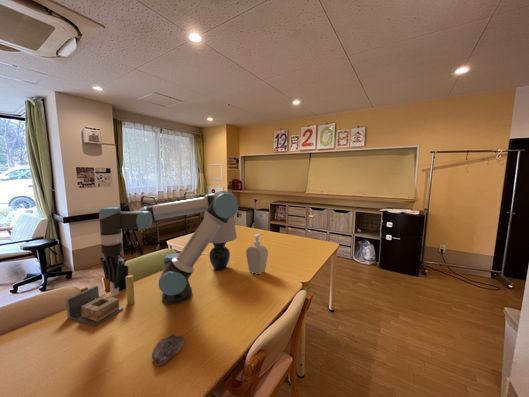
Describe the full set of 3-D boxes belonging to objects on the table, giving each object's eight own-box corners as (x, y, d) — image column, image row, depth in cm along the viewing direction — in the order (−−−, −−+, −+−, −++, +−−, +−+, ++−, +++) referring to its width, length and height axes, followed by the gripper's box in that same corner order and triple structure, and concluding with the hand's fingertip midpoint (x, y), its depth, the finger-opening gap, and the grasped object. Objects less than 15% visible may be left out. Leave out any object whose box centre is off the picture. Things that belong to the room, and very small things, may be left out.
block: (119, 308, 106) (118, 298, 105) (97, 321, 96) (96, 311, 96) (104, 304, 109) (103, 295, 108) (82, 316, 100) (81, 306, 99)
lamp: (194, 270, 151) (192, 212, 146) (219, 259, 171) (218, 208, 167) (220, 279, 138) (219, 216, 134) (243, 265, 158) (243, 211, 154)
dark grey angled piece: (123, 309, 107) (121, 291, 106) (94, 326, 95) (93, 307, 94) (97, 302, 113) (96, 285, 112) (67, 317, 101) (65, 299, 100)
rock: (145, 363, 77) (144, 351, 76) (169, 340, 87) (168, 329, 87) (164, 370, 74) (163, 357, 74) (186, 345, 85) (186, 334, 84)
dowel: (136, 301, 114) (134, 275, 112) (130, 305, 111) (128, 278, 109) (131, 300, 115) (129, 274, 113) (125, 303, 112) (124, 277, 110)
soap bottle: (269, 271, 150) (269, 234, 147) (260, 276, 142) (260, 237, 139) (255, 266, 157) (255, 231, 154) (246, 271, 149) (245, 234, 146)
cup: (121, 292, 123) (120, 271, 121) (110, 290, 124) (108, 270, 123) (132, 285, 130) (131, 266, 129) (121, 284, 132) (120, 265, 130)
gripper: (130, 242, 97) (133, 293, 99) (109, 238, 101) (112, 287, 103) (114, 247, 90) (117, 302, 92) (92, 243, 94) (96, 296, 96)
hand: (115, 294), depth 98 cm, fingers closed
